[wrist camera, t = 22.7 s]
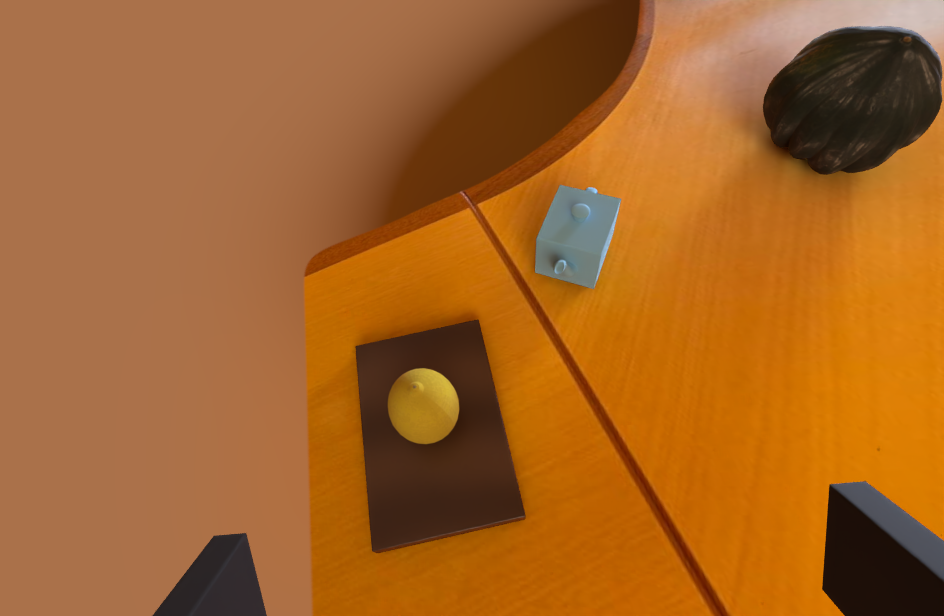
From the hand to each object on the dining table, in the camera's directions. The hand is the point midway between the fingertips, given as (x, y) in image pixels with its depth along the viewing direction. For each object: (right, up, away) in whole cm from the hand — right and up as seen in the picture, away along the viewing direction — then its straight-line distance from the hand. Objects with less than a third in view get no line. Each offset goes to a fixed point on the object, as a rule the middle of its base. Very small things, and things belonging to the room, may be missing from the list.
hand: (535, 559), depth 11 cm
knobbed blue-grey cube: (+9, +10, +40) cm, 42 cm away
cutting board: (-5, -5, +32) cm, 33 cm away
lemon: (-5, -4, +31) cm, 32 cm away
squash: (+39, +24, +46) cm, 65 cm away
